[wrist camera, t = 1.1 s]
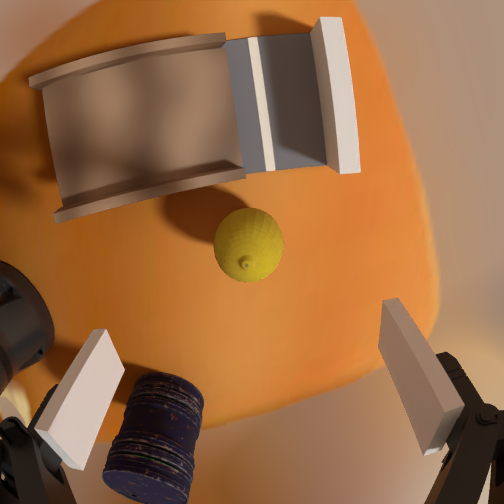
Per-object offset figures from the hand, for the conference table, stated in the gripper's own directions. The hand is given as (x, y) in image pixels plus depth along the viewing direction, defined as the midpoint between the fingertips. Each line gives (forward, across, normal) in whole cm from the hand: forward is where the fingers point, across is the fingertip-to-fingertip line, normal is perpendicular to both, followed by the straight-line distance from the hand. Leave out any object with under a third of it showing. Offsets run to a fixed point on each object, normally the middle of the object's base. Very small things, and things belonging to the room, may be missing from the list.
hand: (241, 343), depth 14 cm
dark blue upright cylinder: (+17, -14, -22) cm, 31 cm away
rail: (+16, +8, +11) cm, 21 cm away
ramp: (+16, -7, +11) cm, 21 cm away
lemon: (+17, 0, 0) cm, 17 cm away
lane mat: (+16, +4, +11) cm, 20 cm away
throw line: (+16, +3, +11) cm, 20 cm away
